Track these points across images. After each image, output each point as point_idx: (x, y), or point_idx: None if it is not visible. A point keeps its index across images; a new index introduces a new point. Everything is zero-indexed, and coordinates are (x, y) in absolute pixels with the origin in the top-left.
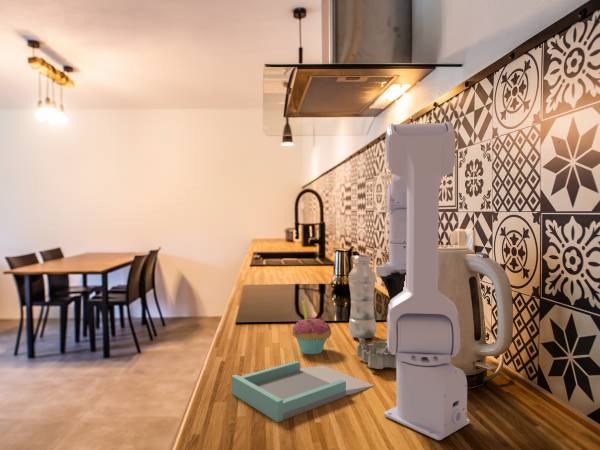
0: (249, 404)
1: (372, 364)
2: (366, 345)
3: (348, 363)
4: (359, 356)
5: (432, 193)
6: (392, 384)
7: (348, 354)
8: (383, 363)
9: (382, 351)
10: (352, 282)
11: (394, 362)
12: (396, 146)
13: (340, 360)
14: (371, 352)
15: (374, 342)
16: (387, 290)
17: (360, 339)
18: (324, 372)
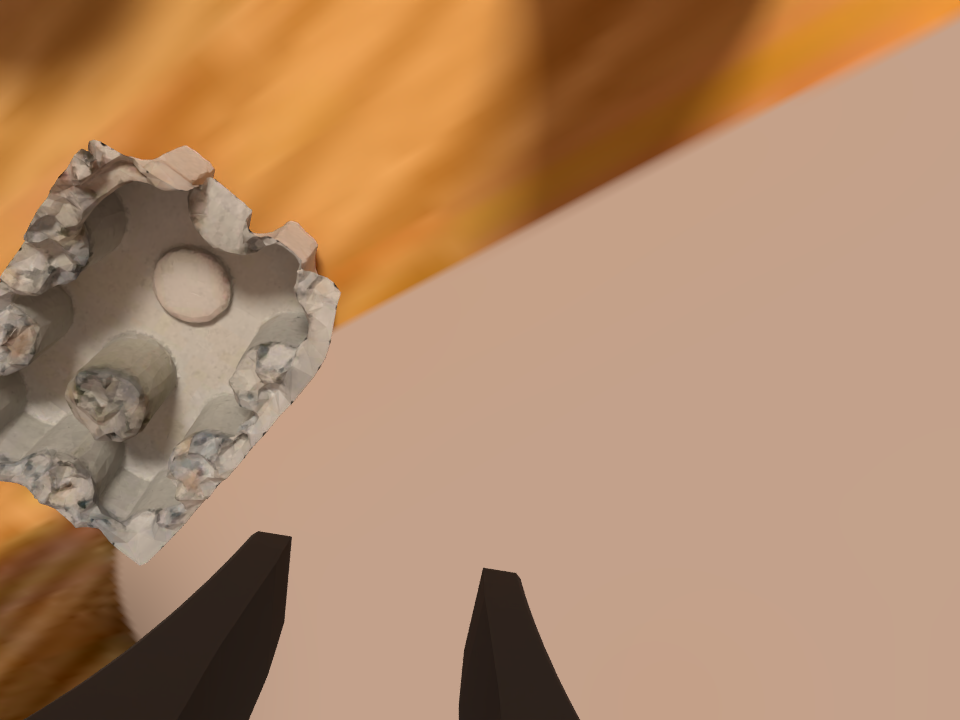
0: None
1: (9, 380)
2: (188, 206)
3: (39, 146)
4: (114, 192)
5: None
6: (14, 499)
7: (184, 22)
8: (72, 424)
9: (83, 422)
10: None
11: (109, 482)
12: None
13: (33, 58)
14: (19, 367)
15: (258, 243)
16: (106, 670)
17: (73, 212)
18: None
